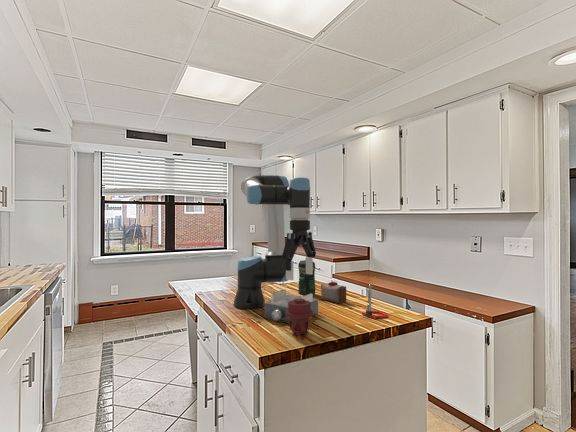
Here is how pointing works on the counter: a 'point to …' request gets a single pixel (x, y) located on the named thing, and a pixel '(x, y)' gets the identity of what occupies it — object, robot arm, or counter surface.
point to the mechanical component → (299, 315)
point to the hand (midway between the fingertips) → (299, 276)
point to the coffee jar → (306, 279)
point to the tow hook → (368, 311)
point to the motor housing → (285, 305)
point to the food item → (333, 292)
